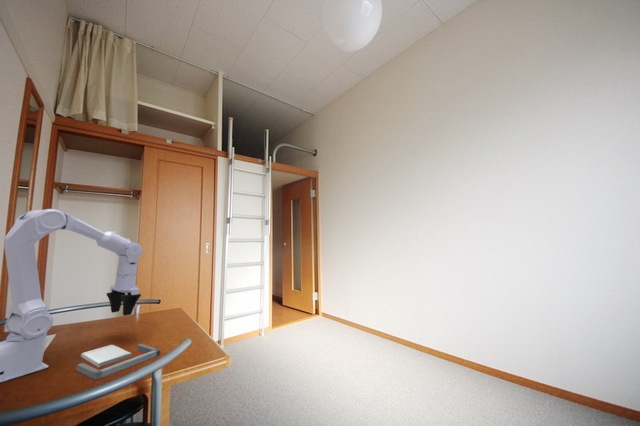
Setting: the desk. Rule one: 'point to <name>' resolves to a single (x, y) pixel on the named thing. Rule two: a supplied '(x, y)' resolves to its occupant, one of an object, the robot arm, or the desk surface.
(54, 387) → the desk surface
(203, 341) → the desk surface
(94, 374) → the drive bay
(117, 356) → the hard drive
